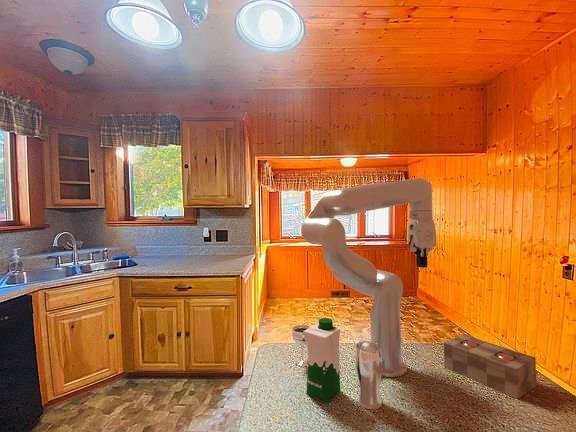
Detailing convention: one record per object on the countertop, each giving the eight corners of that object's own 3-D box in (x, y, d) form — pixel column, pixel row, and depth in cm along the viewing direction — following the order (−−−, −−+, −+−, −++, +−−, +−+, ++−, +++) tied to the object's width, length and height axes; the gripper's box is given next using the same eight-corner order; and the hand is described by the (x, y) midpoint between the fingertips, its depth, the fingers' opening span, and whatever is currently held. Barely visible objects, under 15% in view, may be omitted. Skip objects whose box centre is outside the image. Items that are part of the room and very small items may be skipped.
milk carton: (344, 391, 82) (343, 321, 83) (327, 407, 76) (325, 331, 76) (319, 380, 88) (317, 315, 88) (301, 394, 81) (299, 323, 82)
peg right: (511, 387, 81) (510, 360, 82) (495, 380, 85) (494, 355, 85) (517, 382, 83) (516, 357, 84) (501, 376, 87) (501, 351, 87)
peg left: (473, 371, 90) (472, 347, 90) (460, 366, 94) (460, 342, 94) (480, 368, 92) (479, 344, 92) (467, 362, 96) (466, 340, 96)
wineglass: (293, 358, 102) (292, 325, 102) (312, 359, 102) (311, 325, 102) (292, 368, 95) (291, 332, 96) (312, 369, 95) (311, 332, 95)
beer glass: (383, 396, 79) (381, 342, 80) (383, 413, 73) (381, 353, 73) (357, 392, 82) (356, 339, 82) (355, 407, 75) (353, 350, 75)
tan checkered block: (517, 399, 77) (516, 369, 77) (444, 367, 94) (443, 342, 94) (536, 385, 83) (535, 357, 83) (464, 357, 100) (464, 334, 100)
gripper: (415, 215, 97) (416, 270, 96) (443, 215, 103) (445, 266, 103) (397, 216, 103) (398, 267, 103) (425, 216, 110) (426, 264, 110)
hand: (421, 266), depth 103 cm, fingers closed
